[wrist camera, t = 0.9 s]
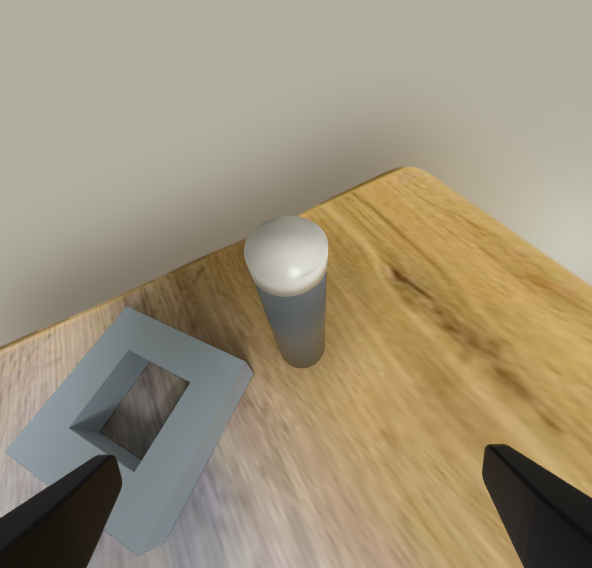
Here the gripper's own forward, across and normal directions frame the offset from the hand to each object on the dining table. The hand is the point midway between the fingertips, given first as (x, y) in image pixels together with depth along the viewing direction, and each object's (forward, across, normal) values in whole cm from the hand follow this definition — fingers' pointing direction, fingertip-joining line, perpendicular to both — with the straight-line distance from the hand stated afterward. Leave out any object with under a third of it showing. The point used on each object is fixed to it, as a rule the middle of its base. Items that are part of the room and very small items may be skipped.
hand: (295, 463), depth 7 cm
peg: (+16, 0, +5) cm, 16 cm away
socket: (+12, +12, +8) cm, 18 cm away
